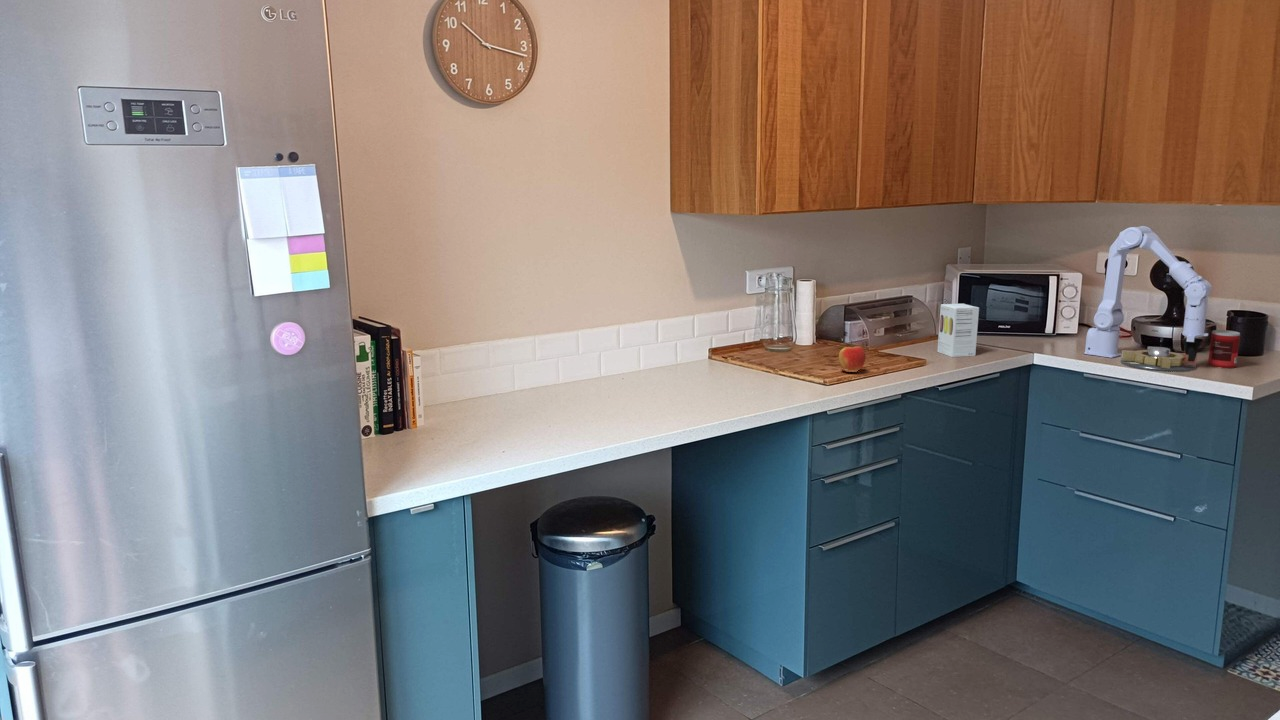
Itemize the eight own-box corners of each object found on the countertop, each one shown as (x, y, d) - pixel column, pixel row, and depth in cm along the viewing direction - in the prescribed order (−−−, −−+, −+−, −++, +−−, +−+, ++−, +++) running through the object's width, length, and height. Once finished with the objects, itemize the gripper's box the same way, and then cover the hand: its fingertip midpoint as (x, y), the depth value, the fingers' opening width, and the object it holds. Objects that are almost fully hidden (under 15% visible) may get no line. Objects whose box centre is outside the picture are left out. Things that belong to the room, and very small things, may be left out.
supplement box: (936, 352, 315) (939, 303, 311) (959, 350, 317) (963, 302, 314) (952, 357, 306) (955, 307, 302) (976, 356, 308) (979, 306, 305)
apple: (845, 376, 279) (846, 344, 277) (833, 370, 286) (835, 339, 284) (869, 374, 280) (870, 342, 278) (857, 369, 288) (858, 338, 286)
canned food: (1227, 363, 294) (1232, 330, 292) (1241, 368, 286) (1245, 334, 284) (1202, 363, 295) (1206, 329, 292) (1215, 368, 287) (1219, 334, 285)
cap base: (1109, 364, 294) (1111, 348, 293) (1139, 355, 308) (1141, 339, 307) (1180, 374, 278) (1182, 357, 277) (1208, 364, 292) (1210, 348, 291)
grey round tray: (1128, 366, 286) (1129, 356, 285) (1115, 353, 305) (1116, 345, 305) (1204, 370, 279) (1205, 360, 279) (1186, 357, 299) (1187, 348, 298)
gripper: (1207, 322, 278) (1202, 366, 281) (1212, 317, 289) (1207, 358, 292) (1181, 320, 282) (1176, 363, 285) (1186, 315, 293) (1181, 356, 296)
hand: (1190, 361), depth 289 cm, fingers closed, pressing on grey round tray
